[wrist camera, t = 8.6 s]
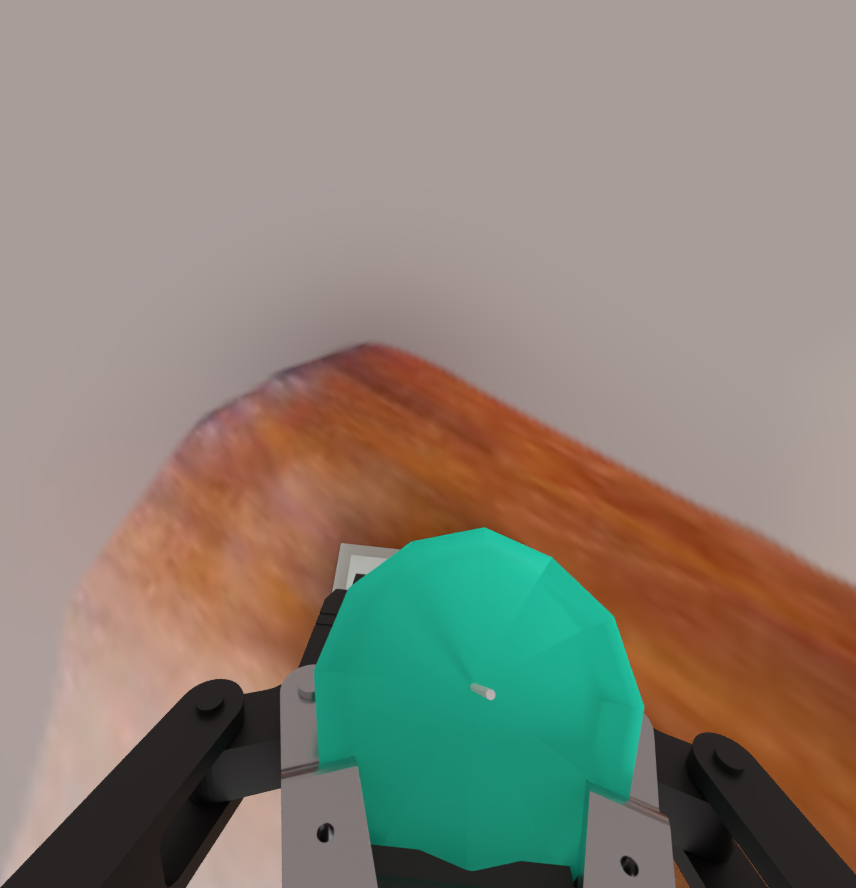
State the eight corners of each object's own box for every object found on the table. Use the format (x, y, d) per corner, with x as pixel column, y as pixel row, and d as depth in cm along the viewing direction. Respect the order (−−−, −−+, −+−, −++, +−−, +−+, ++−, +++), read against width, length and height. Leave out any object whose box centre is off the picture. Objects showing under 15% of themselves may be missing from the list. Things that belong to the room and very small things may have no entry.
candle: (547, 717, 17) (779, 815, 6) (400, 800, 16) (379, 1094, 5) (475, 568, 20) (556, 455, 9) (341, 631, 18) (241, 589, 7)
